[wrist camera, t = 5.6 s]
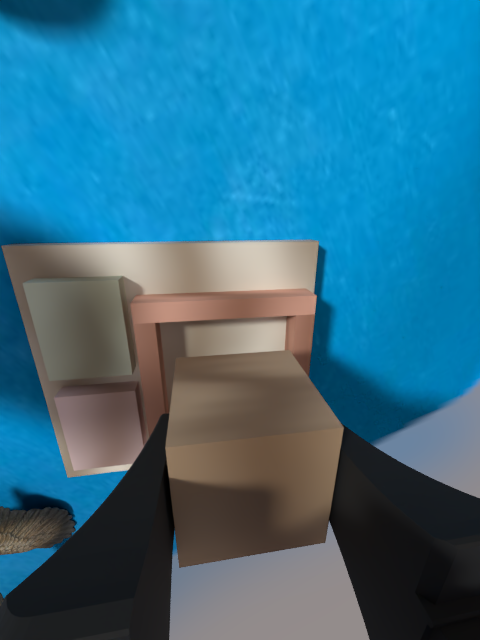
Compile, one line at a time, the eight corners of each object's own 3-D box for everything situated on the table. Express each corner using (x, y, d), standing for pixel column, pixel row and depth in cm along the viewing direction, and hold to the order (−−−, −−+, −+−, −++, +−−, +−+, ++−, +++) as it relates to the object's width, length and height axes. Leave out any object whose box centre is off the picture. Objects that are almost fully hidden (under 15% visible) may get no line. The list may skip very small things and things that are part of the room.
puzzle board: (74, 464, 19) (57, 500, 16) (14, 243, 14) (-23, 250, 11) (294, 438, 21) (307, 466, 18) (311, 239, 16) (331, 244, 13)
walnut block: (184, 449, 14) (179, 567, 9) (176, 357, 12) (165, 447, 7) (283, 437, 15) (325, 542, 10) (289, 349, 13) (344, 427, 8)
